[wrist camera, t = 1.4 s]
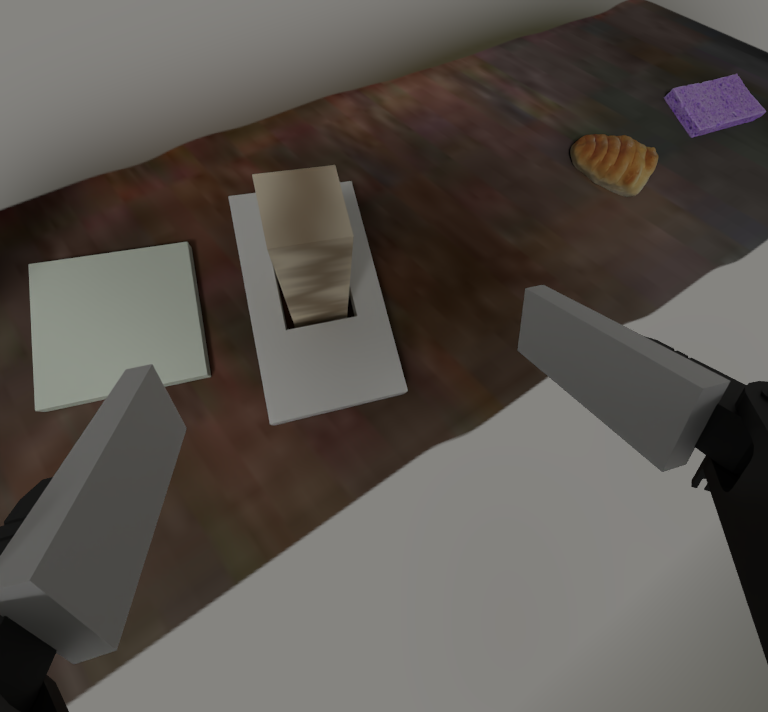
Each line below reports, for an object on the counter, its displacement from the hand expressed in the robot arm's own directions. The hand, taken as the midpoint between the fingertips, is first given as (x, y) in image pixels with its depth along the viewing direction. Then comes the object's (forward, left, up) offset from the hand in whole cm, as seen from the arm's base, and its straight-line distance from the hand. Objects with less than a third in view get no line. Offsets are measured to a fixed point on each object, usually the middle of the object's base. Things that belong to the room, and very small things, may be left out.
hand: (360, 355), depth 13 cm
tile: (-17, +12, -20) cm, 29 cm away
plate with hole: (-1, +11, -20) cm, 23 cm away
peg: (-1, +11, -20) cm, 23 cm away
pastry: (+37, +21, -21) cm, 47 cm away
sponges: (+57, +28, -21) cm, 67 cm away
